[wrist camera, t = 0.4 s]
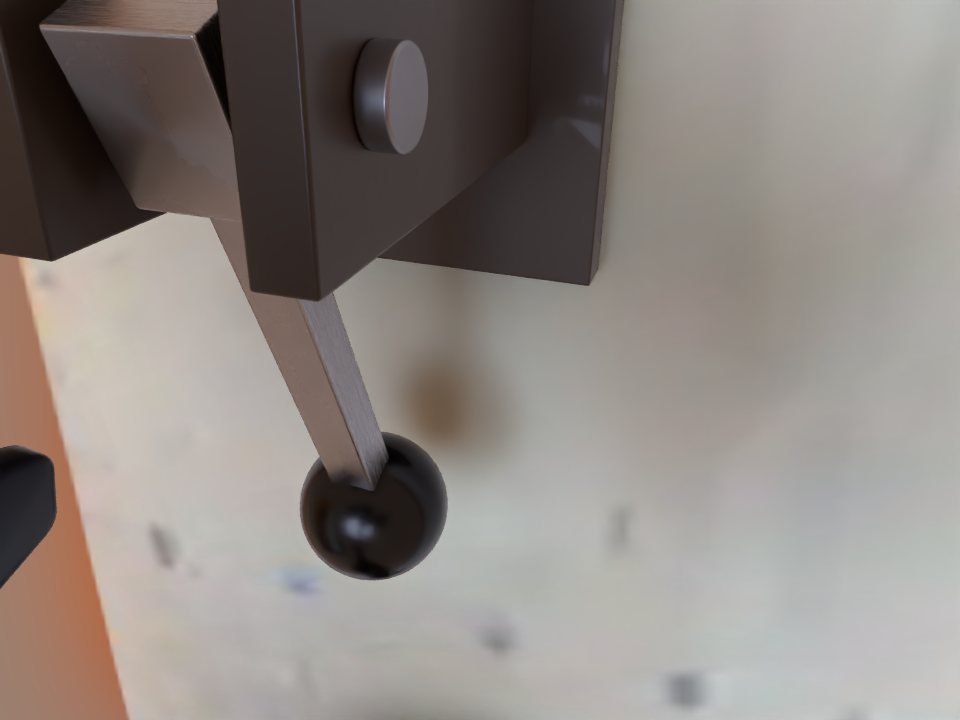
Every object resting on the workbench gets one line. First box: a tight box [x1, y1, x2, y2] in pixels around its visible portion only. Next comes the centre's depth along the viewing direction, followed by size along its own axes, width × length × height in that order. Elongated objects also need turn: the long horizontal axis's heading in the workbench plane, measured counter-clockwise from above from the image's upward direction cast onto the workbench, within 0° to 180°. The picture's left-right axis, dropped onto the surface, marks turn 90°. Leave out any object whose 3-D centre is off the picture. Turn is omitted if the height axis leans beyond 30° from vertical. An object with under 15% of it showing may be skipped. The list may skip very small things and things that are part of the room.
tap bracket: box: [0, 0, 624, 302], centre depth 14 cm, size 11×8×11 cm
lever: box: [38, 0, 448, 580], centre depth 15 cm, size 15×4×4 cm, turn 178°
